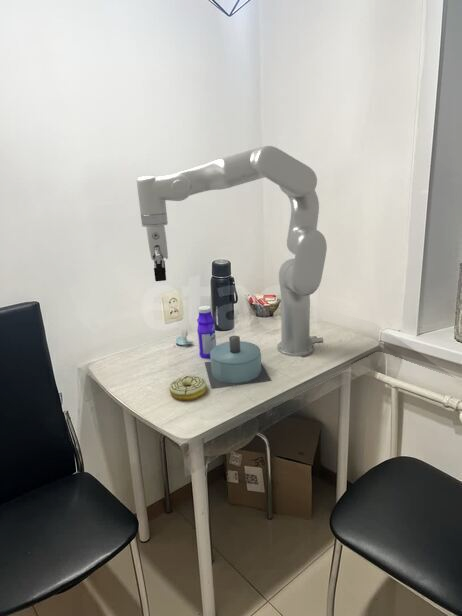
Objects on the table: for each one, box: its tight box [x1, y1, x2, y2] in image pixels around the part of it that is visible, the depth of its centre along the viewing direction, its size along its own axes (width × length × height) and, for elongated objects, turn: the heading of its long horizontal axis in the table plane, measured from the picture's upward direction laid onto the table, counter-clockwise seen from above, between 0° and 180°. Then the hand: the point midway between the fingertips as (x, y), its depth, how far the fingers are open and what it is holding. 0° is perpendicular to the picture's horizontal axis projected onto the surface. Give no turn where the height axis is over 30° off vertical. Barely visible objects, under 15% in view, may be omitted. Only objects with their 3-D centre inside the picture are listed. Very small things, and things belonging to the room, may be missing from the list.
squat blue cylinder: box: [209, 335, 262, 383], centre depth 127 cm, size 15×15×11 cm
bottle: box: [196, 305, 217, 359], centre depth 139 cm, size 7×6×17 cm
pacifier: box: [173, 328, 193, 349], centre depth 150 cm, size 7×6×6 cm
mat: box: [204, 360, 273, 390], centre depth 129 cm, size 18×18×1 cm
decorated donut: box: [168, 375, 208, 402], centre depth 118 cm, size 10×11×4 cm
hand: (160, 276), depth 126 cm, fingers open, 9 cm apart
